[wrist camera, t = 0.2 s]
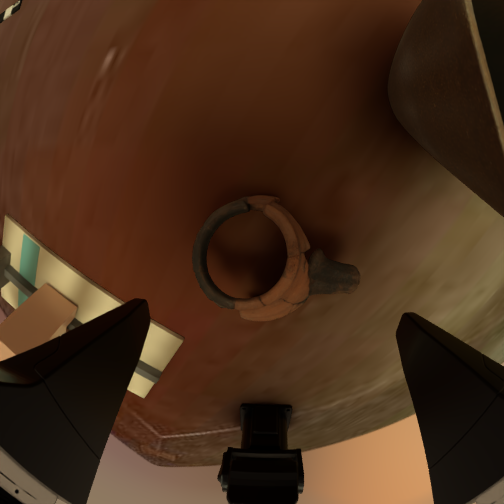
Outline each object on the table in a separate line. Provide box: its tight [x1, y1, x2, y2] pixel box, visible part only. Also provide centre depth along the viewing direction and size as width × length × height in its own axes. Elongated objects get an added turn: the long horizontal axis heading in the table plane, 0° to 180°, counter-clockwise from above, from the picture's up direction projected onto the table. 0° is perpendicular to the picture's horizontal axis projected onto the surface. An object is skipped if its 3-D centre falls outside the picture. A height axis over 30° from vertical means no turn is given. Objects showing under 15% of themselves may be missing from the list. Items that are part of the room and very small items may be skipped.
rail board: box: [0, 214, 184, 398], centre depth 25 cm, size 26×14×6 cm, turn 57°
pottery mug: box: [192, 195, 360, 321], centre depth 21 cm, size 12×10×8 cm
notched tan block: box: [0, 283, 77, 361], centre depth 23 cm, size 5×6×10 cm
